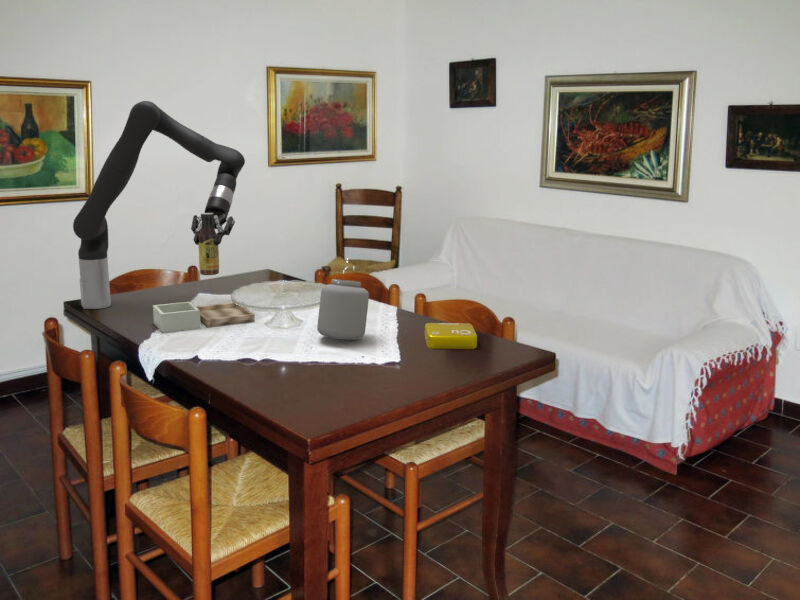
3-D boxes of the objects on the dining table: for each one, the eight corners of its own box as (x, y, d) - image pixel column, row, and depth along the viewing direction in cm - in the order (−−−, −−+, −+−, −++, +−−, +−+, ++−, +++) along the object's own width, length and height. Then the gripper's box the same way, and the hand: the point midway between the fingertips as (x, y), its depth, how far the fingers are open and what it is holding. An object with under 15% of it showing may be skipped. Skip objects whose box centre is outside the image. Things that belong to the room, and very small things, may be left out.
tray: (206, 327, 245) (206, 320, 244) (192, 314, 260) (191, 307, 259) (254, 321, 252) (254, 314, 252) (237, 309, 267) (237, 302, 267)
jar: (338, 327, 248) (339, 251, 242) (379, 333, 242) (380, 256, 236) (308, 342, 232) (307, 261, 226) (350, 349, 226) (351, 267, 220)
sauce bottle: (208, 277, 245) (203, 215, 240) (195, 274, 249) (191, 213, 244) (224, 273, 250) (220, 213, 245) (212, 271, 254) (208, 211, 249)
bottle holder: (162, 332, 238) (161, 314, 236) (153, 323, 248) (152, 305, 246) (200, 328, 244) (199, 310, 242) (190, 319, 254) (190, 301, 252)
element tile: (470, 335, 244) (471, 321, 243) (477, 350, 229) (478, 335, 228) (424, 335, 243) (424, 321, 242) (427, 350, 229) (428, 334, 228)
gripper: (195, 194, 252) (181, 236, 243) (236, 195, 249) (223, 237, 241) (203, 208, 258) (189, 249, 250) (243, 210, 255) (231, 251, 247)
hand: (206, 243), depth 245 cm, fingers closed on sauce bottle, 6 cm apart
